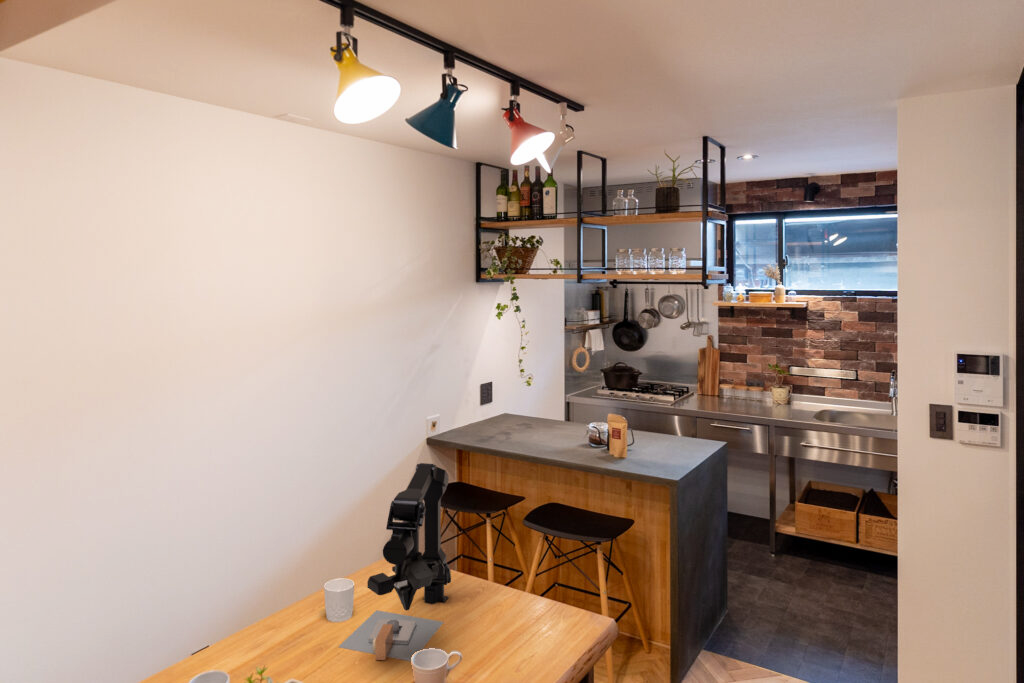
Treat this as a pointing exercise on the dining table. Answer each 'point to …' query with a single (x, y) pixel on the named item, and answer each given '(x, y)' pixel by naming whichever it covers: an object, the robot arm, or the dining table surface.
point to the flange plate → (390, 636)
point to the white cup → (339, 599)
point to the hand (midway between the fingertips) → (406, 609)
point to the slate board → (396, 648)
